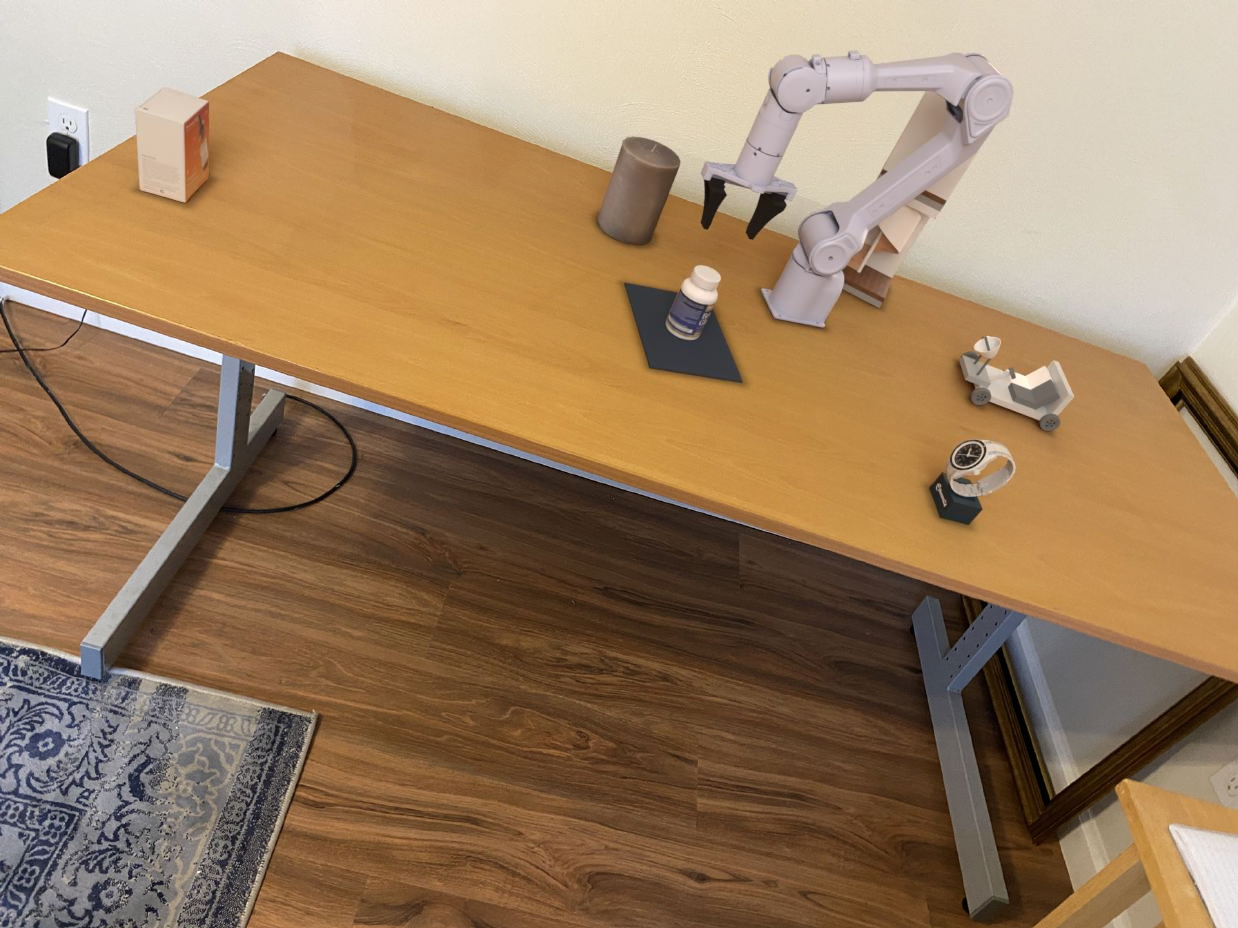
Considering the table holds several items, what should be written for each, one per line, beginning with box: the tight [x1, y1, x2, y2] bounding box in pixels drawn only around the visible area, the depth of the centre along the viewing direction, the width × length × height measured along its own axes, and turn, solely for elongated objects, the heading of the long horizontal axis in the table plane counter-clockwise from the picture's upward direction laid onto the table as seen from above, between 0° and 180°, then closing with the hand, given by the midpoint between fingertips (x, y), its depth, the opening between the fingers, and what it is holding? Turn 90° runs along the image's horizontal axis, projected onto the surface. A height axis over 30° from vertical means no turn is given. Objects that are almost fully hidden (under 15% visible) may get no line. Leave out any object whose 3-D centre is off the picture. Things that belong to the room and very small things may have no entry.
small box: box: [134, 86, 210, 204], centre depth 104 cm, size 8×6×10 cm
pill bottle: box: [666, 264, 722, 340], centre depth 118 cm, size 5×5×10 cm
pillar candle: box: [597, 135, 681, 246], centre depth 134 cm, size 10×10×15 cm
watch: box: [928, 438, 1017, 526], centre depth 108 cm, size 6×8×11 cm
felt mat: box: [624, 281, 744, 384], centre depth 121 cm, size 14×20×1 cm
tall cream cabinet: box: [842, 91, 980, 309], centre depth 142 cm, size 11×11×35 cm
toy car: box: [958, 335, 1075, 432], centre depth 136 cm, size 18×10×12 cm
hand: (726, 231), depth 127 cm, fingers open, 7 cm apart
